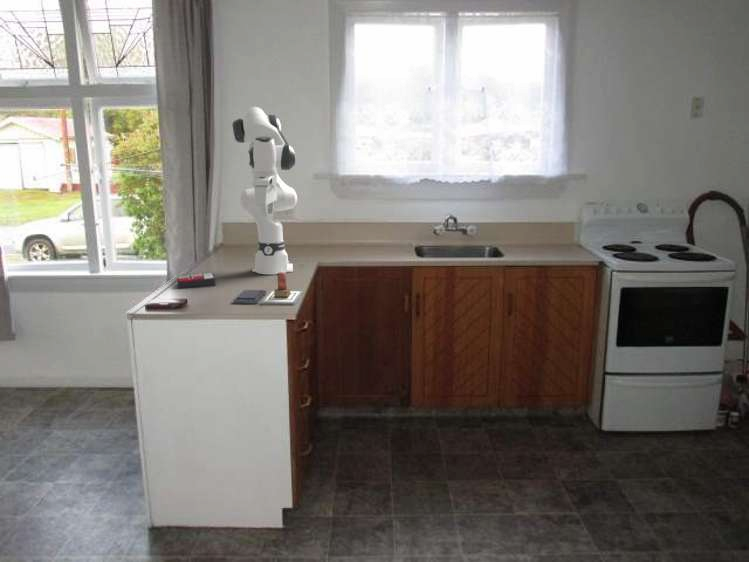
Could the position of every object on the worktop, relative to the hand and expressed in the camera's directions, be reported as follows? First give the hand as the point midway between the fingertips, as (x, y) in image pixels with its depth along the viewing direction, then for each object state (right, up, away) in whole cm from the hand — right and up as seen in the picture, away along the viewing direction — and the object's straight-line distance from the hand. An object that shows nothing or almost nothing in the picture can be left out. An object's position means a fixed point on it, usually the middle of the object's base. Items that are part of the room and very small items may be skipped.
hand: (267, 215), depth 243 cm
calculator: (-34, -28, +20) cm, 48 cm away
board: (+6, -33, -4) cm, 34 cm away
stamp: (+6, -32, -4) cm, 33 cm away
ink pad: (-6, -33, -4) cm, 34 cm away
